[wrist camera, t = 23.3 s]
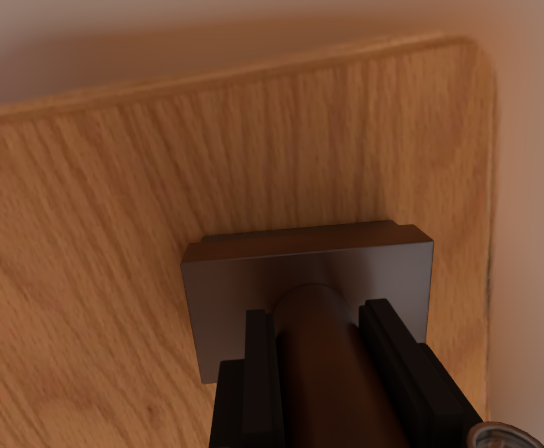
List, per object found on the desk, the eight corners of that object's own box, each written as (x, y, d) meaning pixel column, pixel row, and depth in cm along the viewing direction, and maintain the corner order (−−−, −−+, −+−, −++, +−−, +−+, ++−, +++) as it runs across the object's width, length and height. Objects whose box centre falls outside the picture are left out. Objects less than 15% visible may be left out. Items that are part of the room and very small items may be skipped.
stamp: (399, 212, 13) (722, 467, 4) (394, 317, 14) (621, 671, 6) (194, 230, 13) (56, 537, 4) (210, 334, 14) (139, 727, 5)
